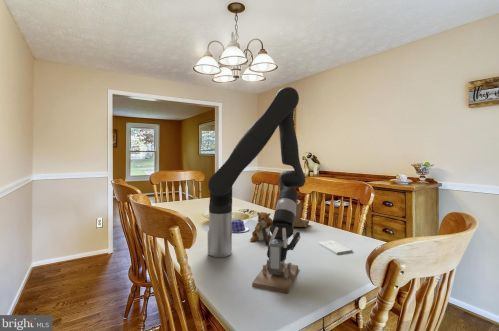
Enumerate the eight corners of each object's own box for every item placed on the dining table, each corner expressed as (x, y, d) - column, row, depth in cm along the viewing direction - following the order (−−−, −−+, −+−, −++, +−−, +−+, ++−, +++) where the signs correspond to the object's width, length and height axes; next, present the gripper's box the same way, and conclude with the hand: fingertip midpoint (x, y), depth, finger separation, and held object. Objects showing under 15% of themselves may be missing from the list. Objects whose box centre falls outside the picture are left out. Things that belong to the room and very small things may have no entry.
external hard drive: (336, 256, 102) (318, 245, 114) (352, 253, 105) (333, 243, 116) (336, 252, 102) (318, 242, 114) (352, 249, 105) (333, 239, 116)
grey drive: (274, 265, 87) (274, 237, 86) (284, 267, 85) (284, 238, 85) (269, 273, 81) (269, 243, 80) (280, 275, 80) (280, 244, 79)
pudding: (240, 225, 143) (240, 216, 142) (253, 231, 133) (253, 221, 133) (222, 229, 136) (222, 219, 135) (233, 235, 126) (234, 225, 126)
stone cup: (280, 228, 137) (280, 201, 136) (282, 222, 148) (283, 197, 148) (308, 230, 133) (309, 202, 132) (309, 224, 145) (309, 198, 144)
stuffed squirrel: (249, 242, 115) (249, 214, 115) (255, 232, 129) (255, 207, 129) (271, 244, 113) (271, 215, 113) (274, 234, 127) (274, 208, 126)
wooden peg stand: (268, 263, 93) (268, 252, 93) (298, 268, 89) (298, 257, 89) (252, 286, 77) (252, 272, 77) (287, 293, 73) (287, 279, 73)
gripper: (264, 206, 92) (252, 251, 81) (303, 209, 87) (296, 258, 76) (268, 217, 97) (257, 260, 86) (305, 221, 92) (299, 267, 81)
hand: (275, 259), depth 81 cm, fingers closed on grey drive, 3 cm apart
